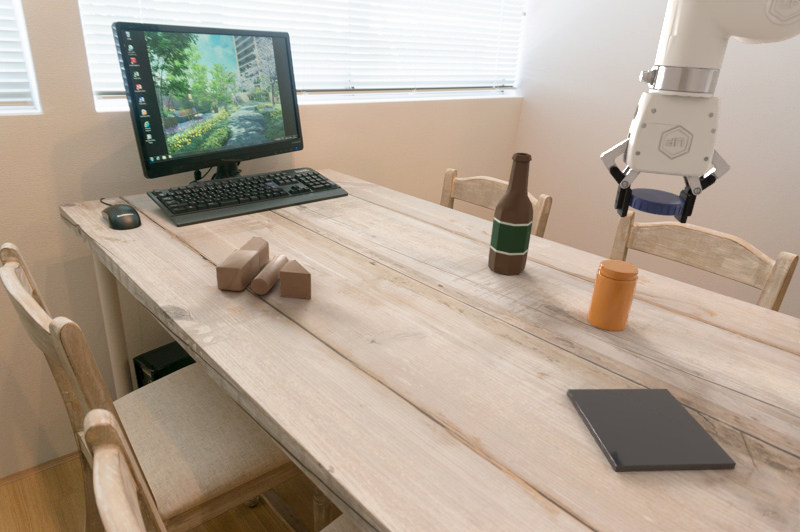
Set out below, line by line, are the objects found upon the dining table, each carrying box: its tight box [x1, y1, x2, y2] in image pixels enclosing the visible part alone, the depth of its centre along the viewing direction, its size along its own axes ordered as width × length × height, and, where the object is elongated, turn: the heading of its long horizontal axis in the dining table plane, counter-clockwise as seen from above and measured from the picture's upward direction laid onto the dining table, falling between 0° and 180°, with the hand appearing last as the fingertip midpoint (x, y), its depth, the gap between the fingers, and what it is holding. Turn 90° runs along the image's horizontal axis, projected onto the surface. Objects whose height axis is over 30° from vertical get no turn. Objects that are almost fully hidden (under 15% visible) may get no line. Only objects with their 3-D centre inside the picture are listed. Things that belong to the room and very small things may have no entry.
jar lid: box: [629, 187, 685, 217], centre depth 72 cm, size 7×7×2 cm
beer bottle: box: [487, 152, 534, 276], centre depth 106 cm, size 8×8×24 cm
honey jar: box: [586, 259, 639, 332], centre depth 89 cm, size 6×6×10 cm
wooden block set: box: [215, 236, 312, 300], centre depth 99 cm, size 17×6×18 cm
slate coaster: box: [566, 388, 737, 472], centre depth 65 cm, size 14×14×1 cm
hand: (650, 216), depth 74 cm, fingers closed on jar lid, 7 cm apart
